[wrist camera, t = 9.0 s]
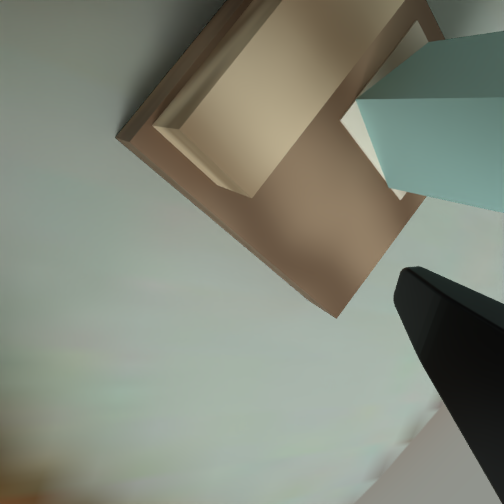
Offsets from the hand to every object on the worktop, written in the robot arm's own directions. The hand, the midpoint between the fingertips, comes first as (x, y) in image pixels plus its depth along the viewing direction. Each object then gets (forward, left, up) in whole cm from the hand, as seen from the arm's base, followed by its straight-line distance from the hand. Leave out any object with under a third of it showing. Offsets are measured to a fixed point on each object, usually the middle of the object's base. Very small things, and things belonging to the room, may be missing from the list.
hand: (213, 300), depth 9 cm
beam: (+9, 0, -8) cm, 12 cm away
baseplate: (+9, -5, -11) cm, 15 cm away
